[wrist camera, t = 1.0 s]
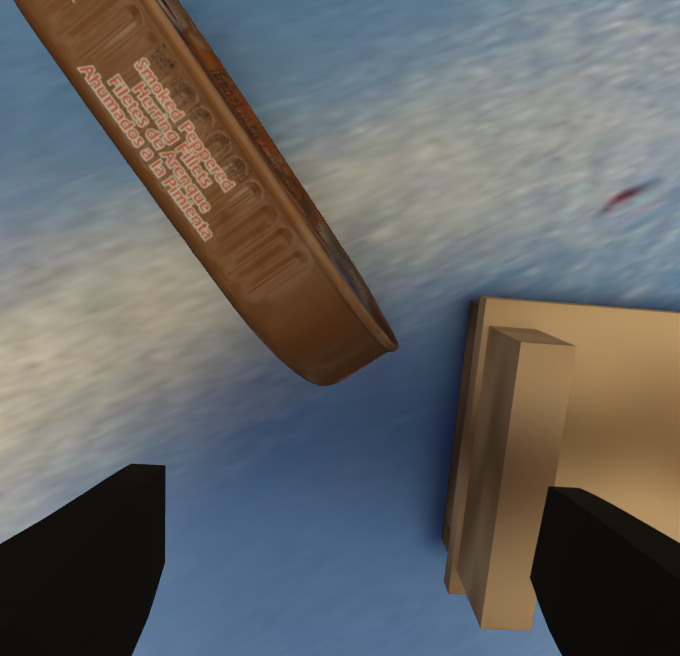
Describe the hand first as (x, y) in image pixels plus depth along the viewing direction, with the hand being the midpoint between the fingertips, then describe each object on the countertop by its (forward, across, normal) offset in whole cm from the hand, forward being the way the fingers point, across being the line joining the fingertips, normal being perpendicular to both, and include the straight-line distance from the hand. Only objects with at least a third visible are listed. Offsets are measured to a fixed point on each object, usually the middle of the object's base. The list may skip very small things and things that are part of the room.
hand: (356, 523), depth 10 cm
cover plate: (+8, -13, +2) cm, 16 cm away
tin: (+12, +4, -6) cm, 14 cm away
